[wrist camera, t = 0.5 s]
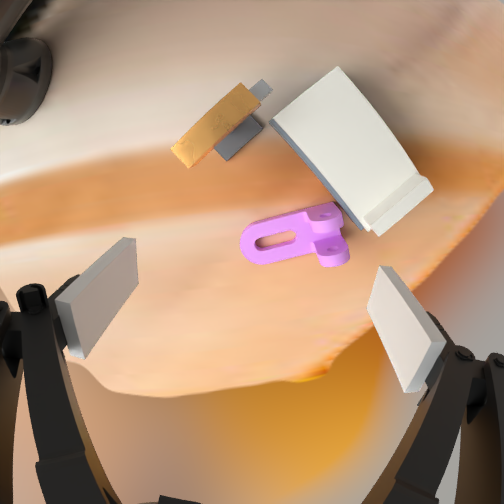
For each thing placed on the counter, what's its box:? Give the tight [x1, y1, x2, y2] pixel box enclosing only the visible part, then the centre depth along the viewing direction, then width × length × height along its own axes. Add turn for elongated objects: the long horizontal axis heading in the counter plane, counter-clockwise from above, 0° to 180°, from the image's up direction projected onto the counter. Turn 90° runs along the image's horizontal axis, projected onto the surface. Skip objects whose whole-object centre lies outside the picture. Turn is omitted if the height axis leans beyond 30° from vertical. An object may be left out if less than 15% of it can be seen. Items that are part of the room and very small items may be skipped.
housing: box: [214, 105, 372, 230], centre depth 33 cm, size 22×17×5 cm
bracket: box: [240, 202, 350, 267], centre depth 37 cm, size 13×6×7 cm, turn 107°
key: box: [170, 79, 273, 168], centre depth 30 cm, size 3×11×9 cm, turn 132°
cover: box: [273, 66, 434, 237], centre depth 28 cm, size 16×9×4 cm, turn 42°
